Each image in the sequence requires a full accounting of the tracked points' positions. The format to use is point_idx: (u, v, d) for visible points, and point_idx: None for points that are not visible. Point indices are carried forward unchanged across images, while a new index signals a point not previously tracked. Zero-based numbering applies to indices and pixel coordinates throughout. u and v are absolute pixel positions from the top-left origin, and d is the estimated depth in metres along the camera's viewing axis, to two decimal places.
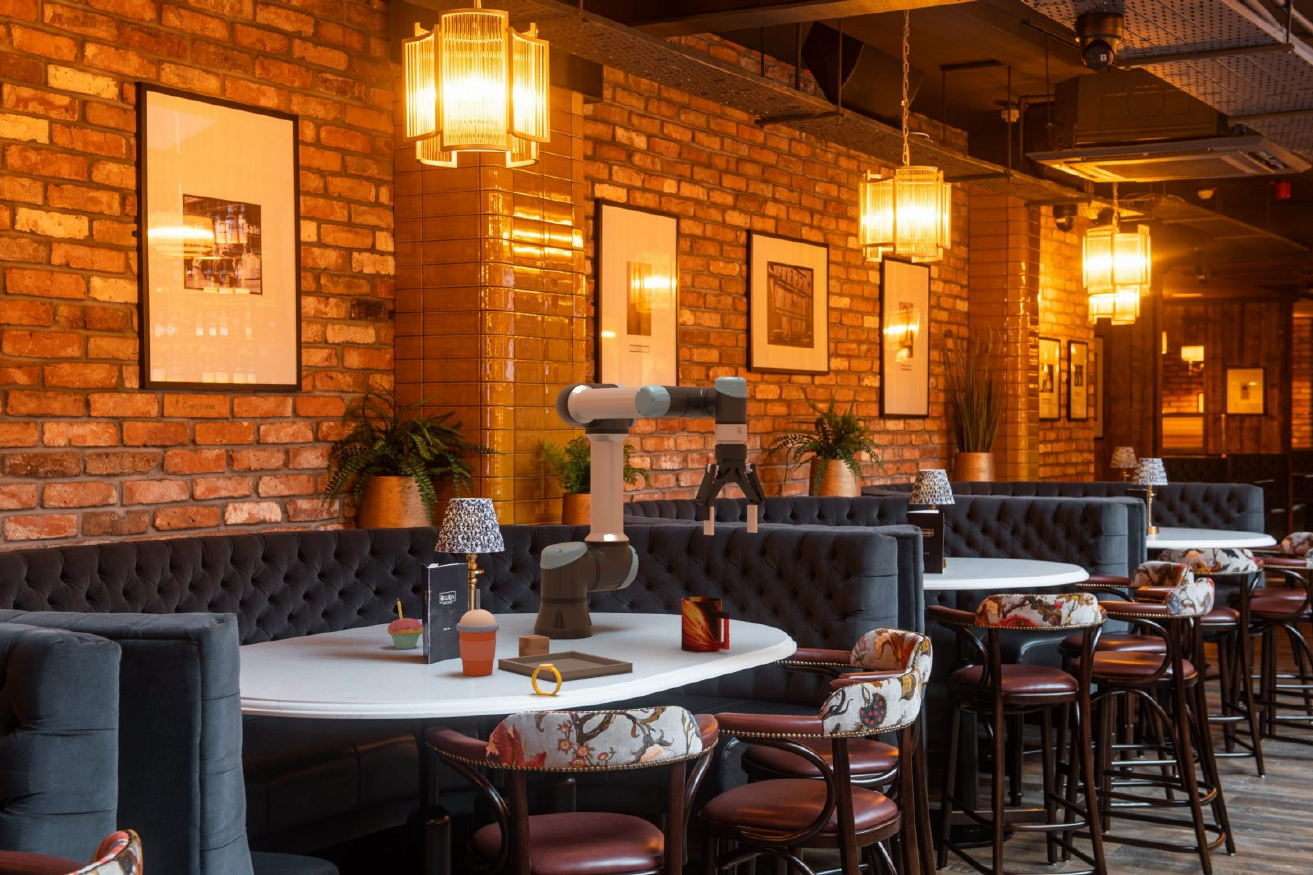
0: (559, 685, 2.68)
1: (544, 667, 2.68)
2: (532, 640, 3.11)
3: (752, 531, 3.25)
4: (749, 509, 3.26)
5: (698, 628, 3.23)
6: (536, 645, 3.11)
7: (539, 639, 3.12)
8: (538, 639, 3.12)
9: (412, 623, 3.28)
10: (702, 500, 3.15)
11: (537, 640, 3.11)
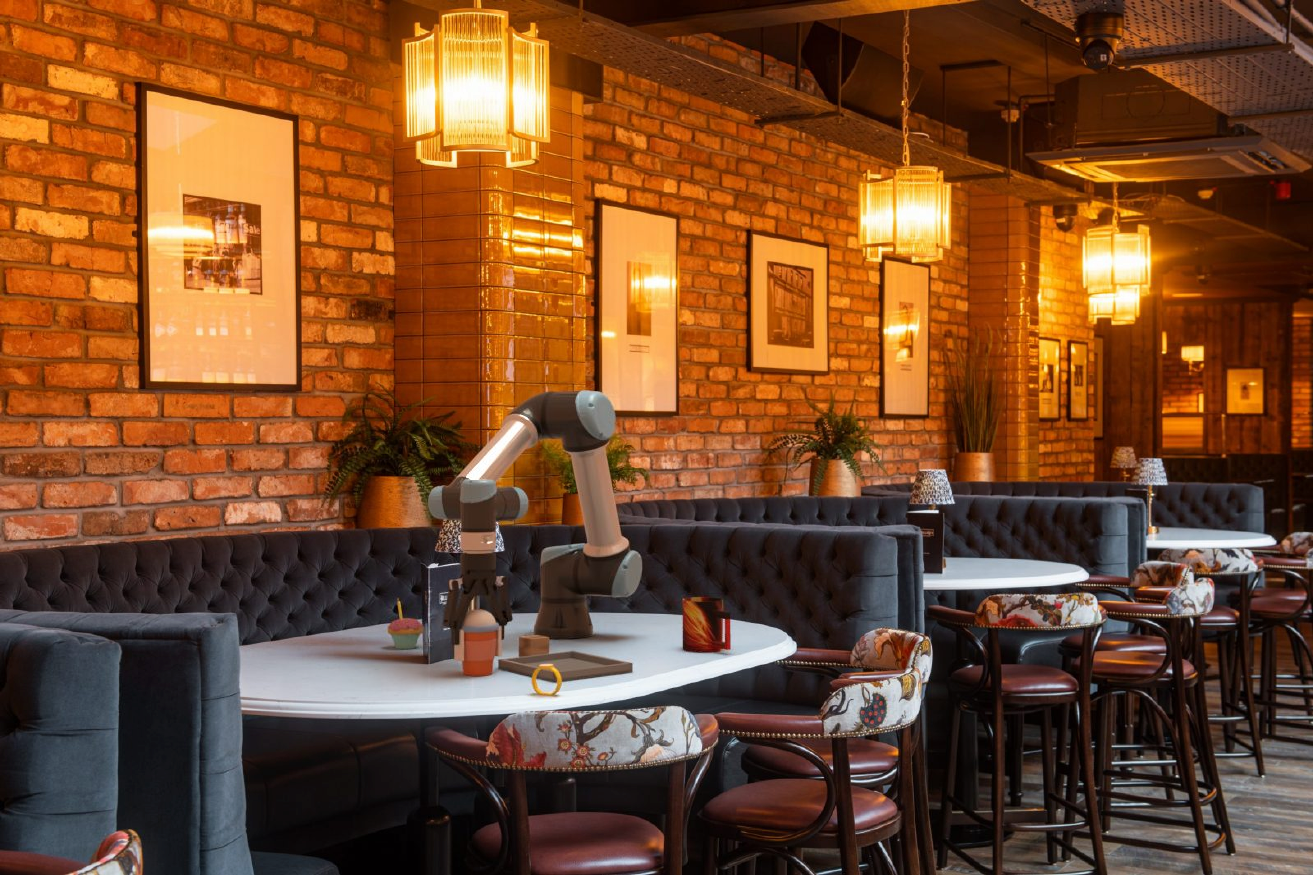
0: (559, 685, 2.68)
1: (544, 667, 2.68)
2: (532, 640, 3.11)
3: (496, 655, 2.95)
4: None
5: (699, 628, 3.23)
6: (536, 645, 3.11)
7: (539, 639, 3.12)
8: (538, 639, 3.12)
9: (412, 623, 3.28)
10: (449, 624, 2.87)
11: (537, 640, 3.11)
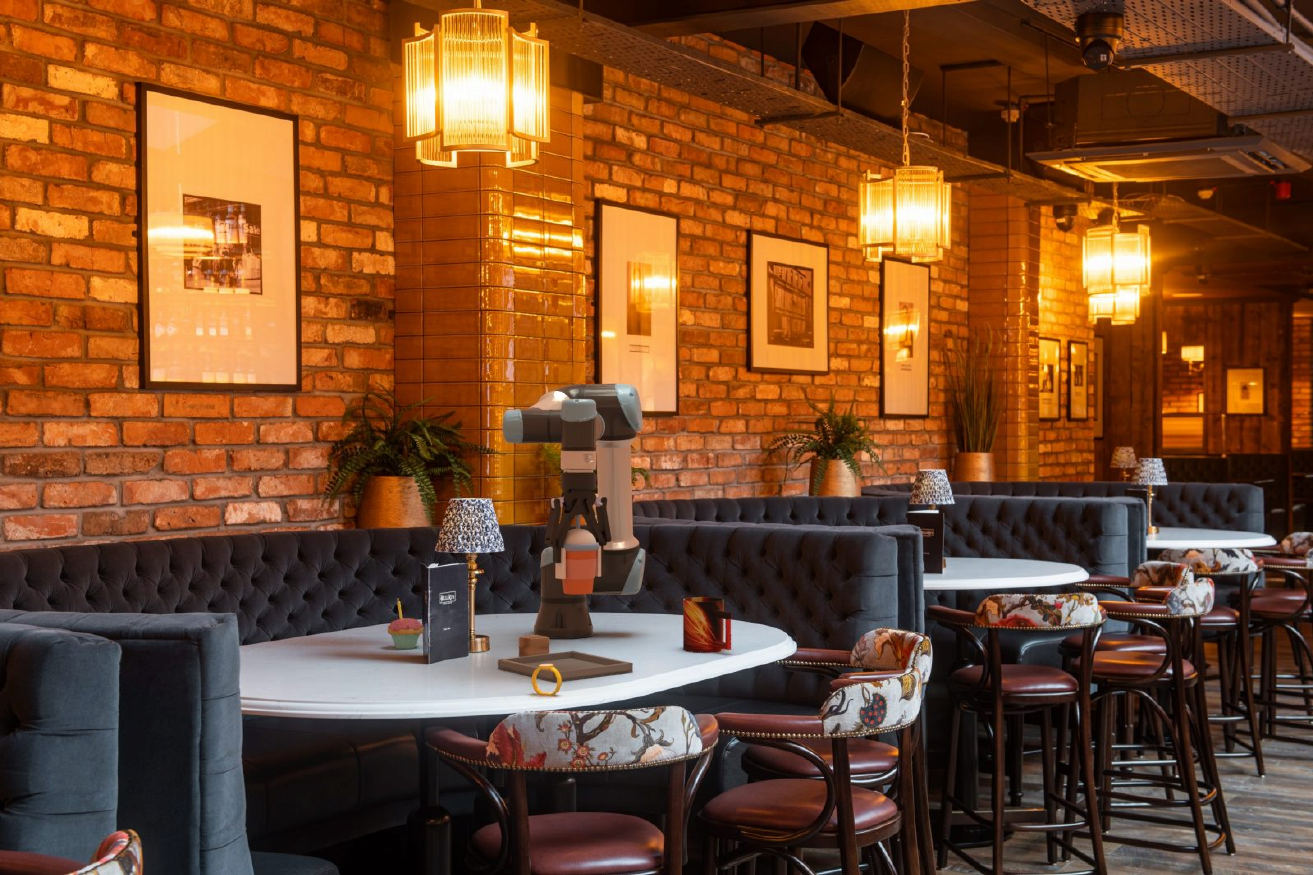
0: (559, 685, 2.68)
1: (544, 667, 2.68)
2: (532, 640, 3.11)
3: (595, 575, 2.96)
4: None
5: (700, 628, 3.23)
6: (536, 645, 3.11)
7: (539, 639, 3.12)
8: (538, 639, 3.12)
9: (412, 623, 3.28)
10: (551, 541, 2.88)
11: (537, 640, 3.11)
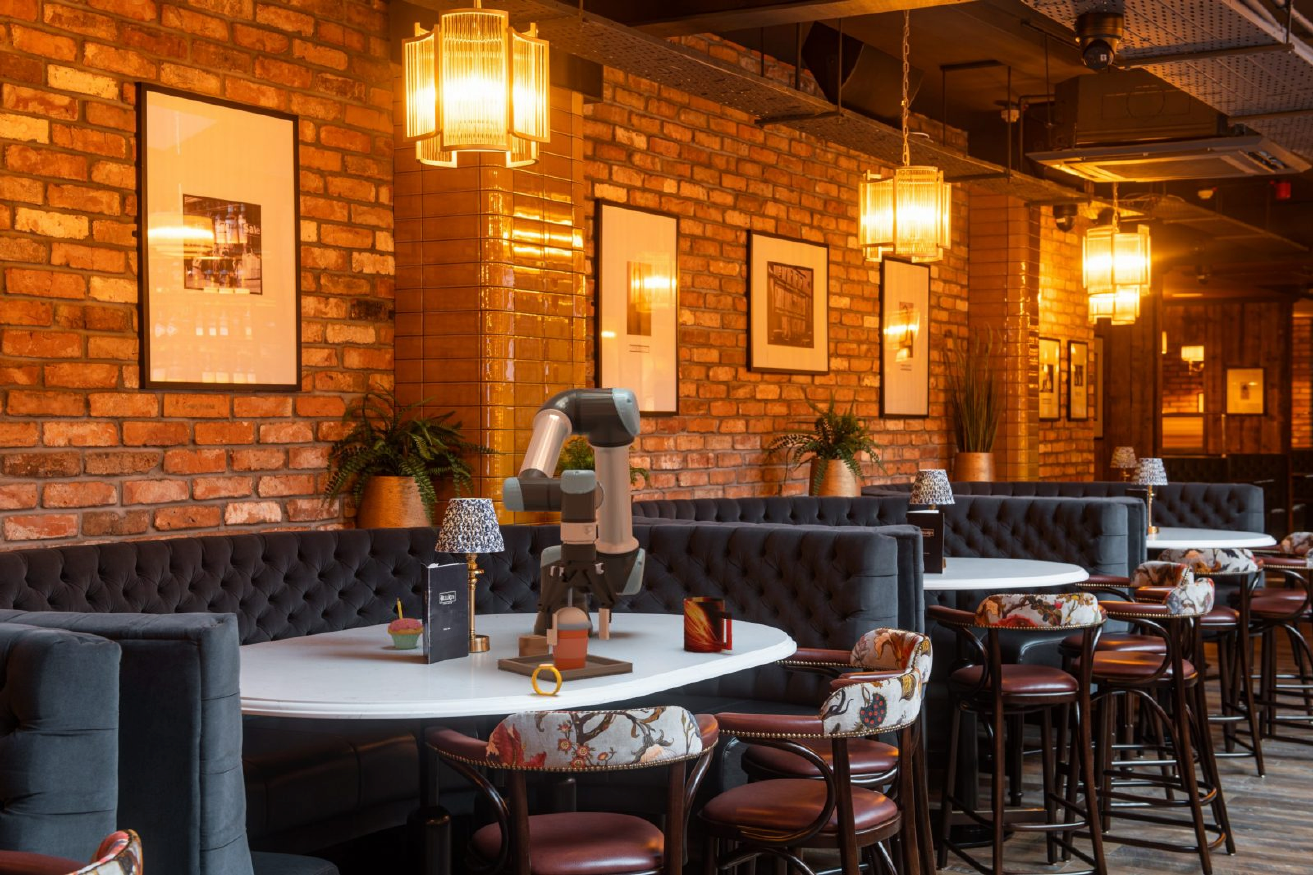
0: (559, 685, 2.68)
1: (544, 667, 2.68)
2: (532, 640, 3.11)
3: (603, 638, 2.97)
4: (601, 613, 2.98)
5: (701, 628, 3.23)
6: (536, 645, 3.11)
7: (539, 639, 3.12)
8: (538, 639, 3.12)
9: (412, 623, 3.28)
10: (543, 608, 2.86)
11: (537, 640, 3.11)
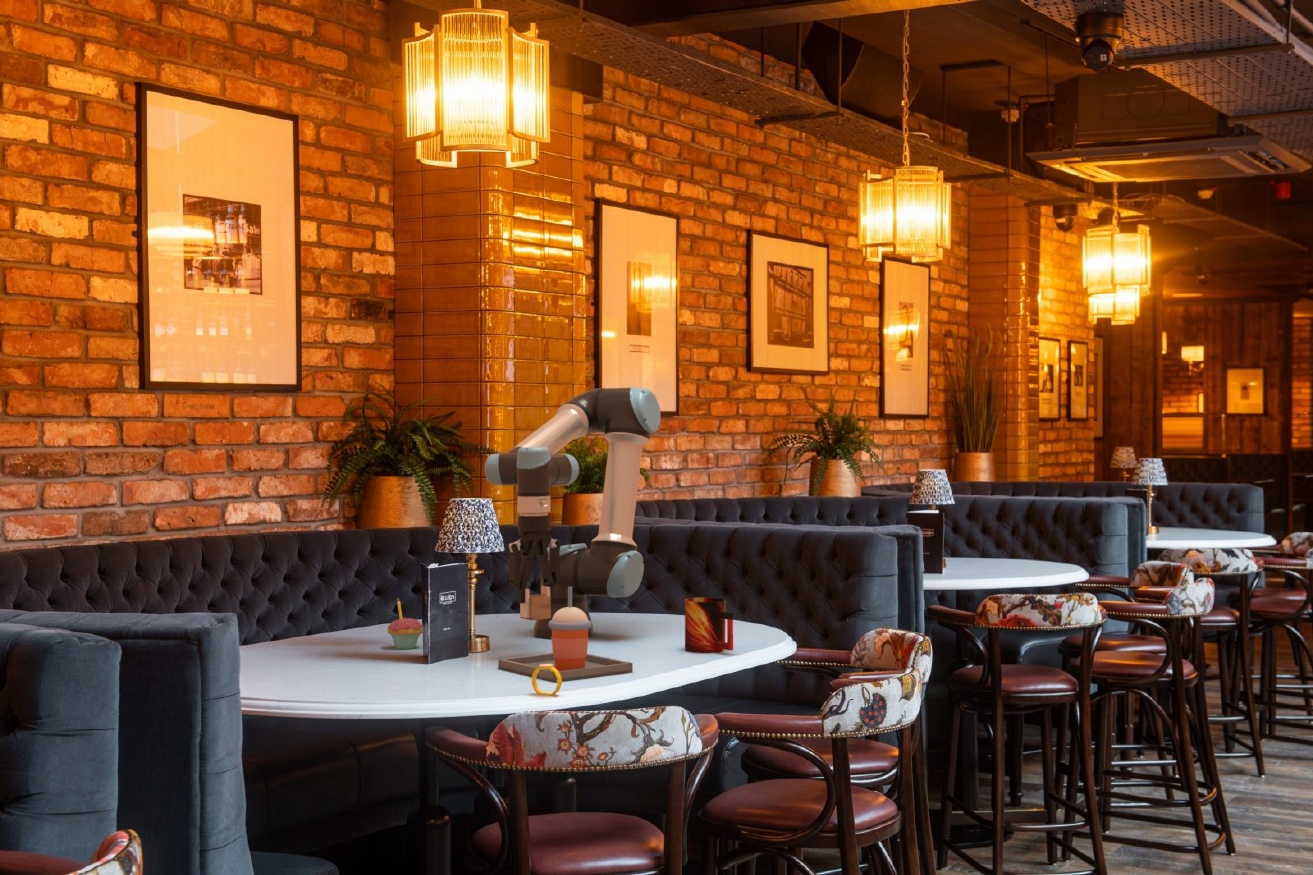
0: (559, 685, 2.68)
1: (544, 667, 2.68)
2: (533, 599, 3.11)
3: None
4: (542, 591, 3.16)
5: (702, 629, 3.22)
6: (537, 604, 3.12)
7: (540, 598, 3.12)
8: (539, 598, 3.12)
9: (412, 623, 3.28)
10: (516, 584, 3.10)
11: (538, 599, 3.12)
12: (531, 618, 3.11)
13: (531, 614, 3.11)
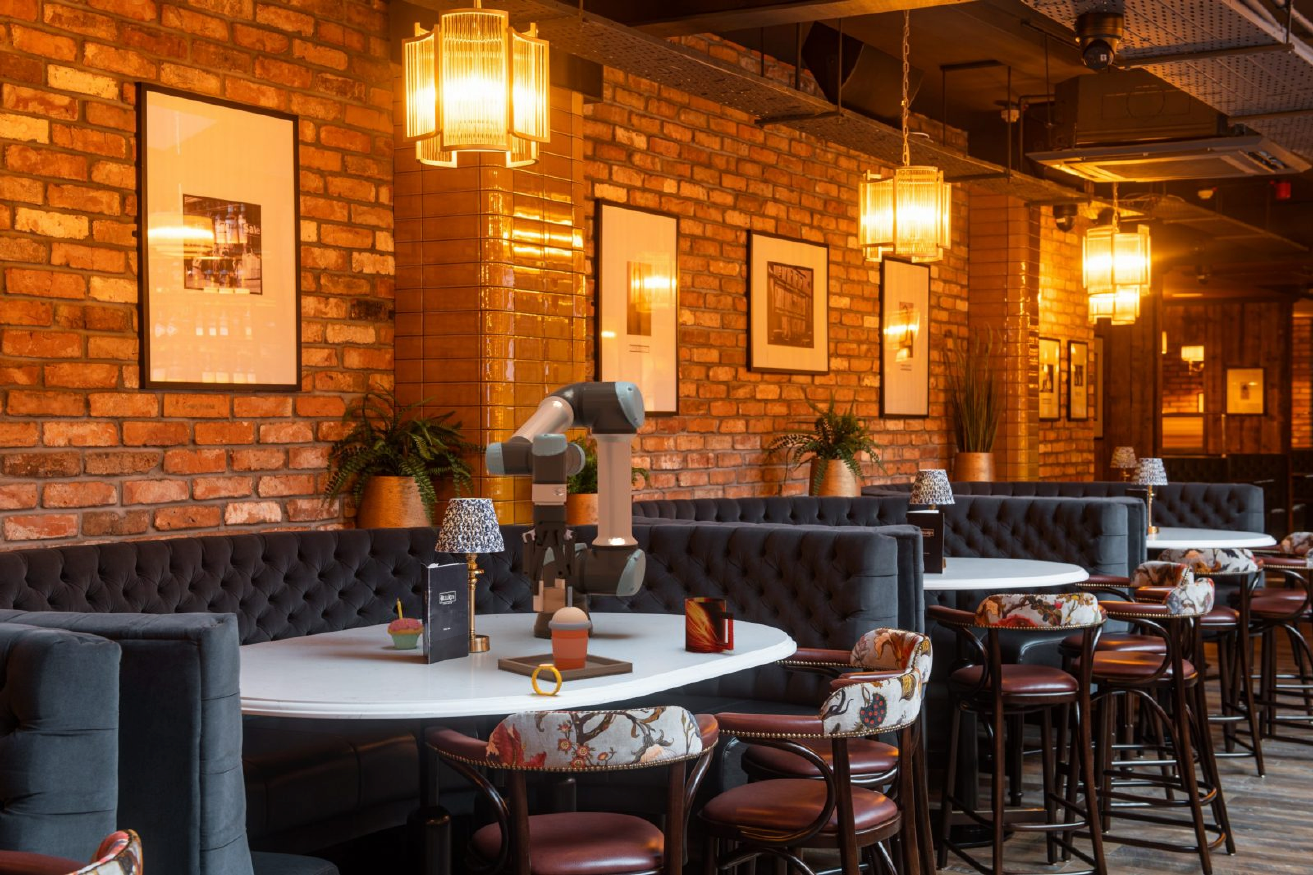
0: (559, 685, 2.68)
1: (544, 667, 2.68)
2: (547, 591, 2.99)
3: None
4: (557, 584, 3.04)
5: (702, 629, 3.22)
6: (551, 597, 2.99)
7: (554, 590, 3.00)
8: (553, 590, 3.00)
9: (412, 623, 3.28)
10: (529, 575, 2.97)
11: (552, 591, 2.99)
12: (545, 611, 2.99)
13: (545, 607, 2.99)
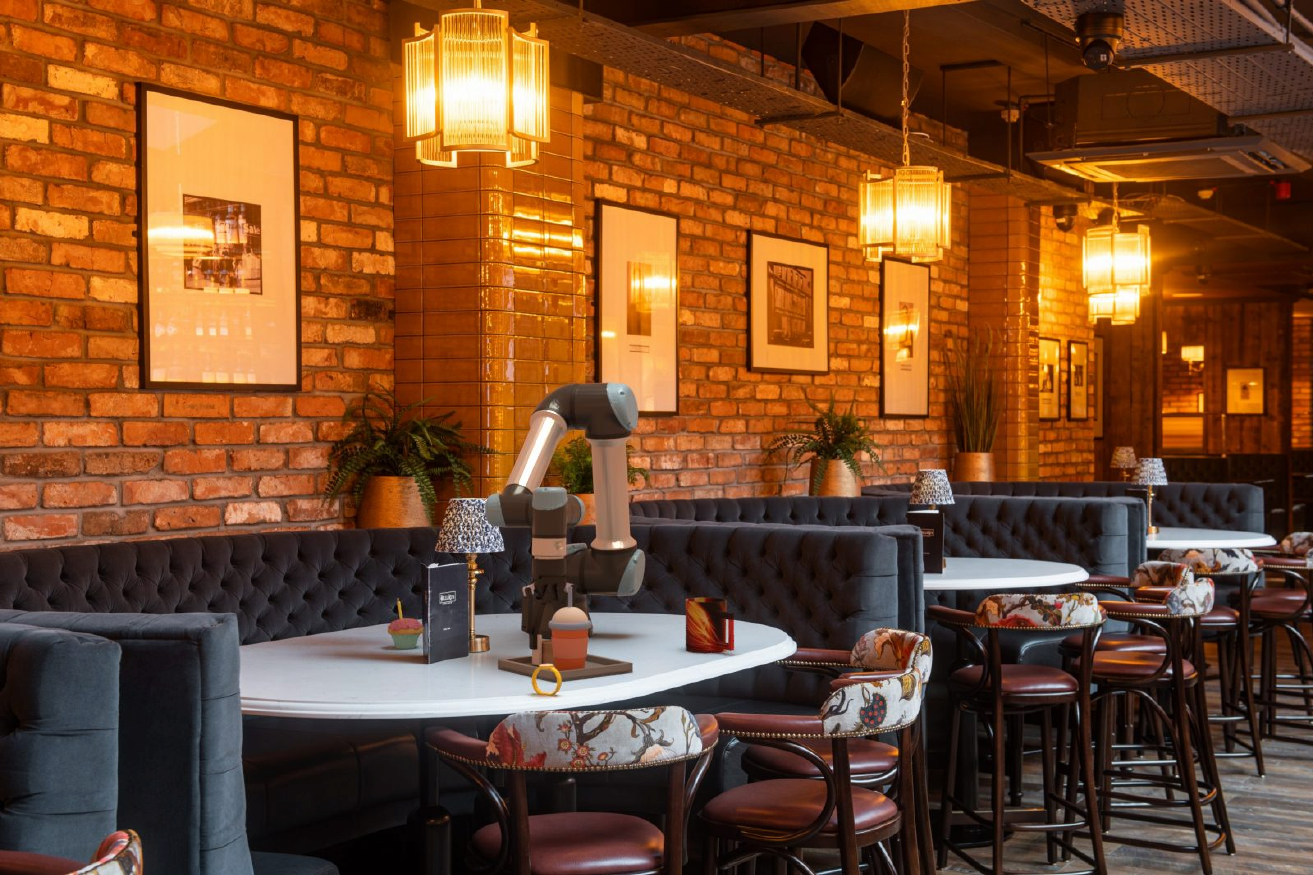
0: (559, 685, 2.68)
1: (544, 667, 2.68)
2: (547, 645, 2.99)
3: None
4: None
5: (703, 629, 3.22)
6: (551, 650, 2.99)
7: None
8: None
9: (412, 623, 3.28)
10: (528, 629, 2.97)
11: None
12: None
13: (545, 660, 2.99)
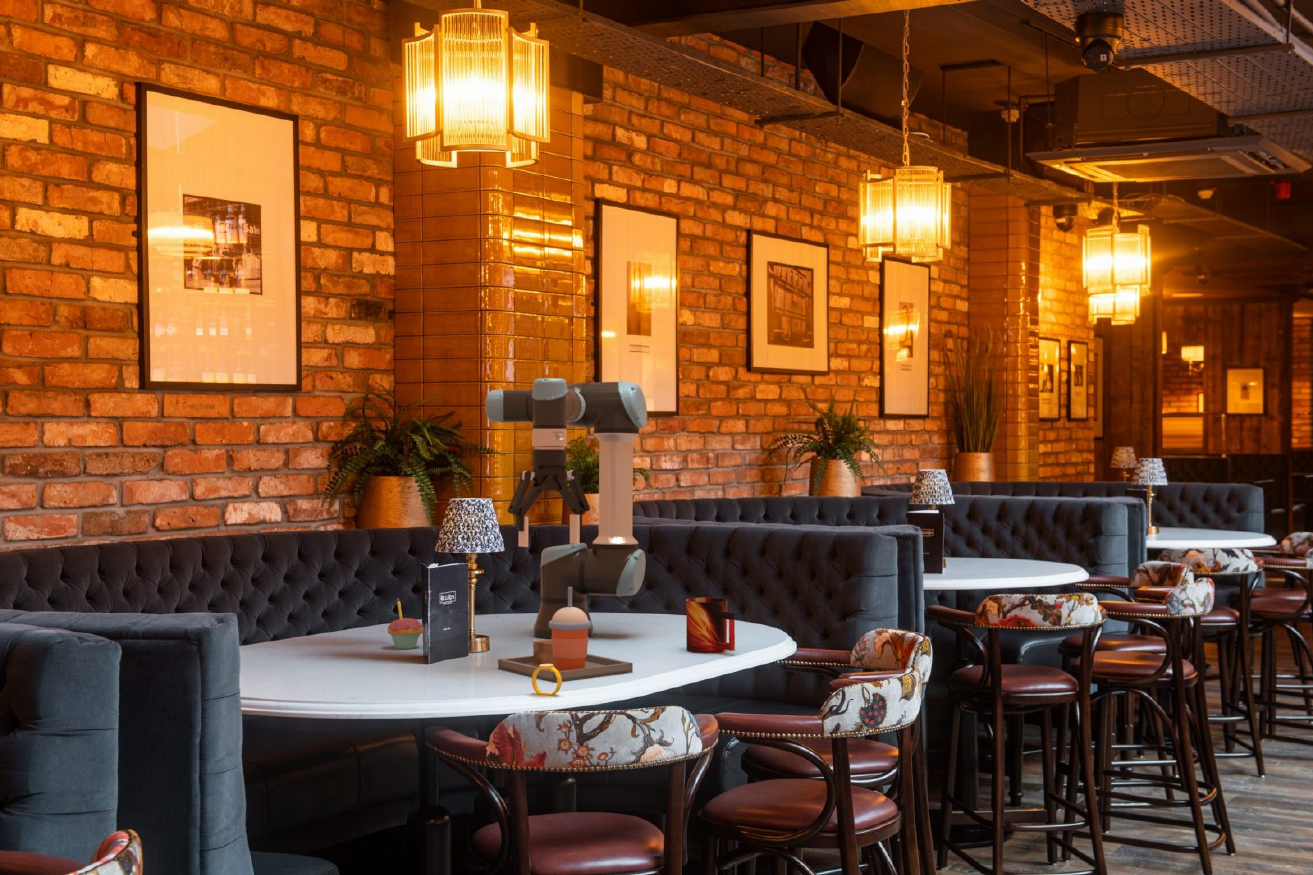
0: (559, 685, 2.68)
1: (544, 667, 2.68)
2: (547, 645, 2.99)
3: (574, 542, 3.06)
4: (571, 519, 3.07)
5: (703, 629, 3.22)
6: (551, 650, 2.99)
7: None
8: None
9: (412, 623, 3.28)
10: (514, 510, 2.95)
11: None
12: None
13: (545, 660, 2.99)
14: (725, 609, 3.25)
